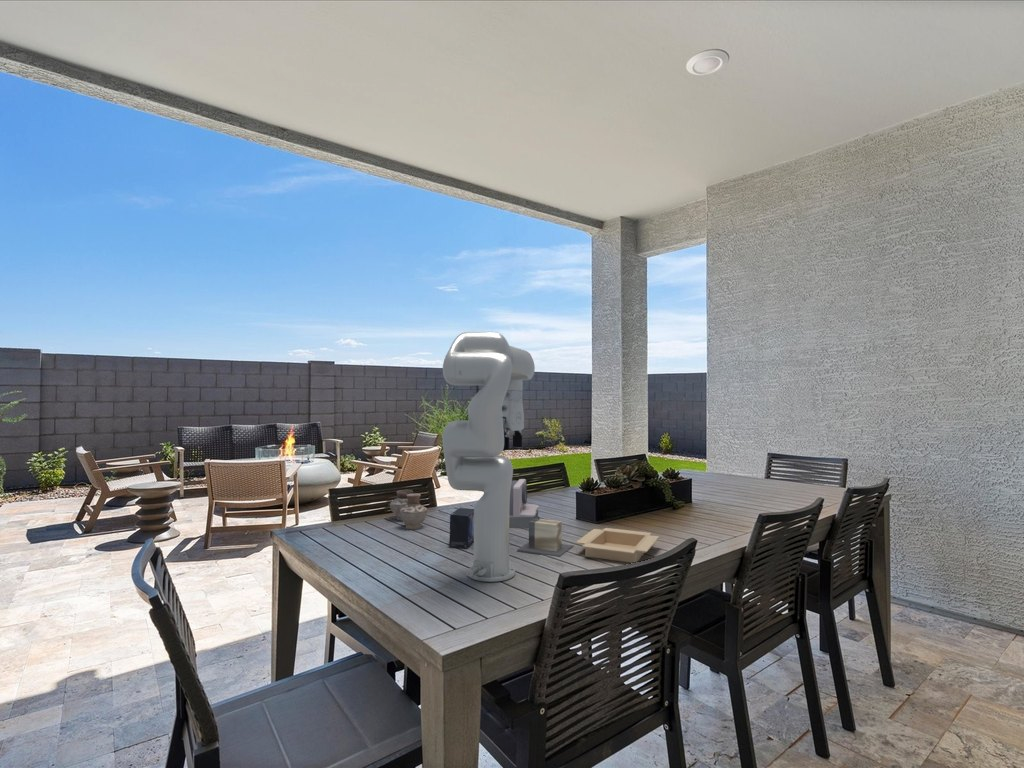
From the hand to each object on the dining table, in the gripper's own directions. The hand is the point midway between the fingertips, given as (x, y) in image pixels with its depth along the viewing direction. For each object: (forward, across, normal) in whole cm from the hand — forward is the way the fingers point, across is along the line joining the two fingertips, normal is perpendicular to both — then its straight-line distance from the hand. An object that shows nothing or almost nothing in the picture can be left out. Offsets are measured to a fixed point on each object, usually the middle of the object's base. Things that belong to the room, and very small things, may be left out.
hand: (511, 448), depth 177 cm
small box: (+31, -10, +12) cm, 34 cm away
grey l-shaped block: (+31, +25, +11) cm, 41 cm away
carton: (+30, +3, -35) cm, 46 cm away
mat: (+30, -4, -14) cm, 34 cm away
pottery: (+31, +5, +45) cm, 55 cm away
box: (+30, -4, -14) cm, 33 cm away
